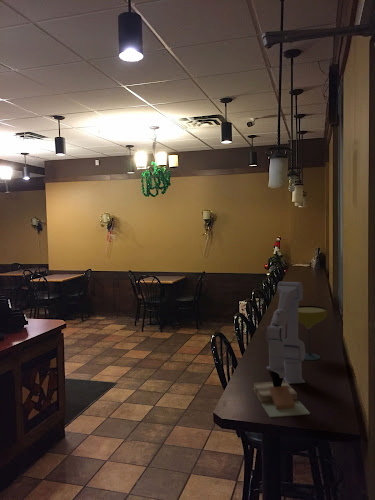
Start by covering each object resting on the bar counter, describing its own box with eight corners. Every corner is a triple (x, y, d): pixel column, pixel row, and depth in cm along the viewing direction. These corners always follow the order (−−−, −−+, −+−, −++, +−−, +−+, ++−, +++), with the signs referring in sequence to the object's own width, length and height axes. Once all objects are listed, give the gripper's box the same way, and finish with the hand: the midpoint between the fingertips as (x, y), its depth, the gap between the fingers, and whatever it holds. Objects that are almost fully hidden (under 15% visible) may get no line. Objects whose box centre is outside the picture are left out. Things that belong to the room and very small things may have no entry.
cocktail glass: (284, 358, 214) (283, 310, 212) (302, 349, 226) (301, 304, 225) (317, 365, 201) (316, 314, 200) (334, 356, 214) (333, 308, 212)
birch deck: (253, 390, 174) (252, 383, 174) (285, 387, 176) (285, 380, 175) (262, 404, 160) (262, 396, 160) (297, 401, 162) (297, 393, 161)
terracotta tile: (269, 391, 163) (269, 387, 162) (286, 389, 163) (287, 385, 162) (276, 409, 155) (276, 405, 154) (294, 407, 155) (294, 403, 154)
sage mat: (261, 404, 160) (261, 403, 160) (299, 401, 161) (299, 400, 161) (269, 417, 149) (269, 416, 149) (310, 414, 150) (310, 413, 150)
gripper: (261, 350, 170) (262, 383, 170) (271, 362, 155) (272, 397, 156) (278, 349, 170) (279, 382, 171) (290, 360, 156) (291, 396, 157)
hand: (277, 389), depth 164 cm, fingers closed
